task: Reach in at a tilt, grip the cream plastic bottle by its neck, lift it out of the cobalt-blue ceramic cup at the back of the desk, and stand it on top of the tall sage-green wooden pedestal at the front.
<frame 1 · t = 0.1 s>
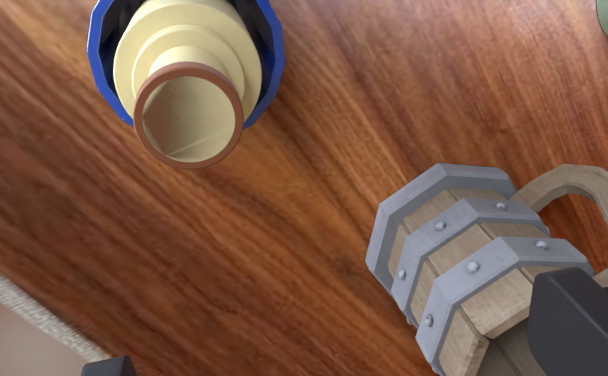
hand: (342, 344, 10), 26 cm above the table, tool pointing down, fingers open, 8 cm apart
tankard: (481, 207, 43), on the table
cream bottle: (189, 26, 32), point 1 cm above the table, touching blue cup
blue cup: (190, 24, 32), on the table
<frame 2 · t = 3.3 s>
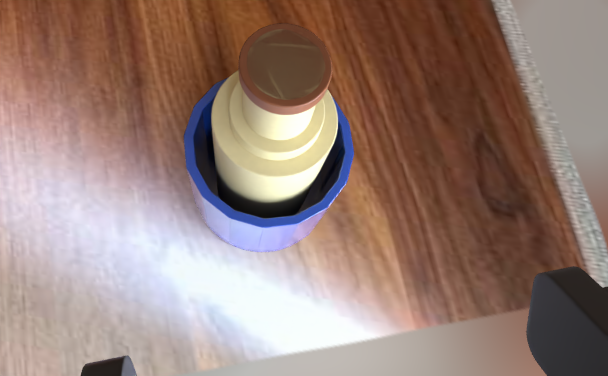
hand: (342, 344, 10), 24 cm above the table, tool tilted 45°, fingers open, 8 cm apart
cream bottle: (262, 183, 36), point 1 cm above the table, touching blue cup
blue cup: (262, 186, 36), on the table
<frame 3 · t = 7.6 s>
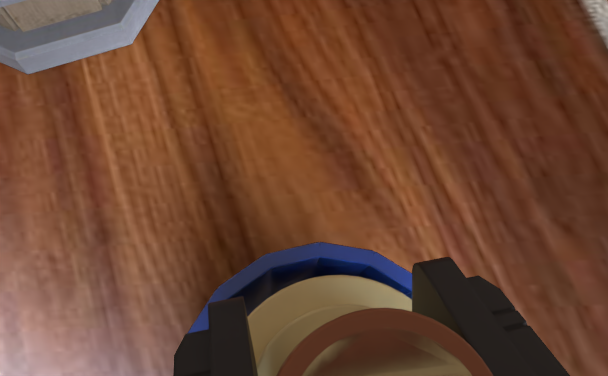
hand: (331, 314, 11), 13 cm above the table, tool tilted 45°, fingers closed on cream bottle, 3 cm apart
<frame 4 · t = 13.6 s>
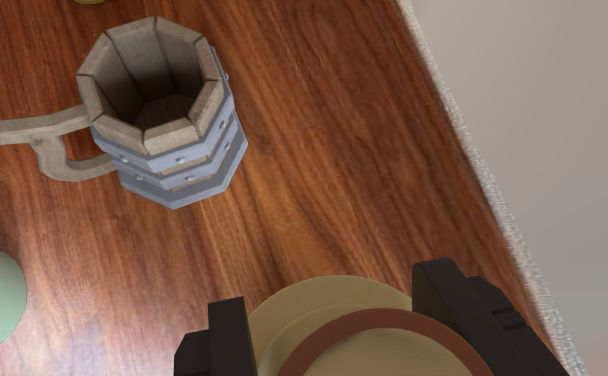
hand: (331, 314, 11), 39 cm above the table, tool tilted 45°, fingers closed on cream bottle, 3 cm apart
tankard: (144, 157, 53), on the table
when the fingers open (35 cm above the table, at t = 19.4 s): cream bottle stays where it is, resting on green stand.
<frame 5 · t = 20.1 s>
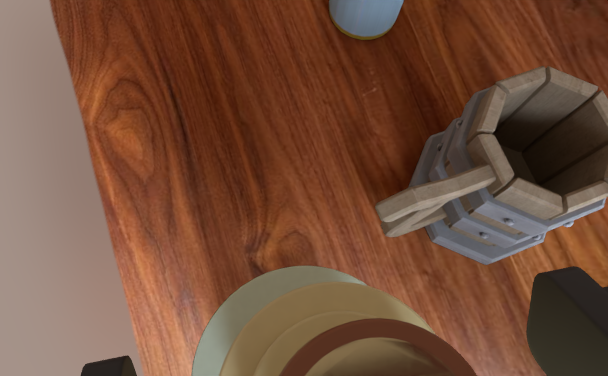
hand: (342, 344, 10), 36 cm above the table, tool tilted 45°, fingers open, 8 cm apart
tankard: (443, 206, 49), on the table
bottle: (361, 14, 55), on the table
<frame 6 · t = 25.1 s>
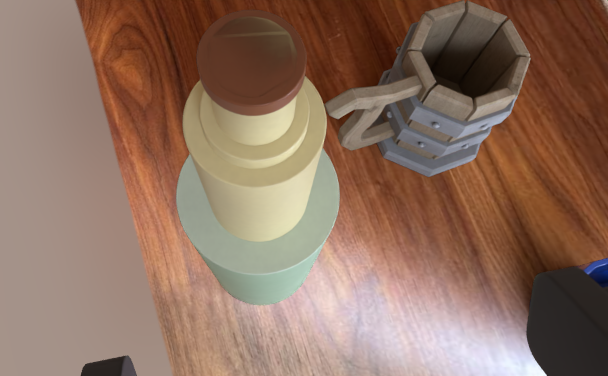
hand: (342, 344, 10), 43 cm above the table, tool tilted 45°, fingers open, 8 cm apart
tankard: (394, 130, 59), on the table
green stand: (258, 192, 33), on the table
cream bottle: (259, 193, 33), point 22 cm above the table, touching green stand
blue cup: (572, 315, 54), on the table
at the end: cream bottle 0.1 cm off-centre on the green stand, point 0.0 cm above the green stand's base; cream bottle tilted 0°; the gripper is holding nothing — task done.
